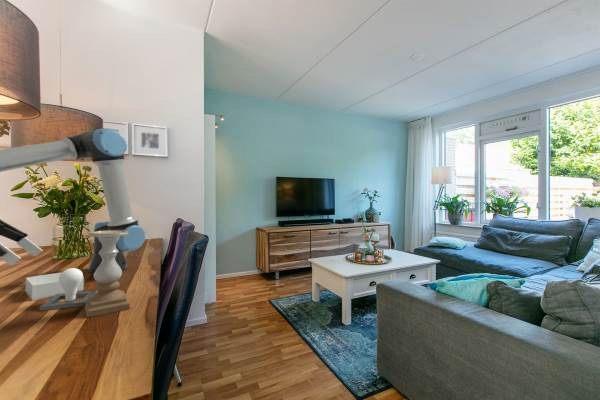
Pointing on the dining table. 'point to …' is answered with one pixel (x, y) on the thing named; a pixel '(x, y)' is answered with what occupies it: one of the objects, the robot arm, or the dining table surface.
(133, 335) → the dining table surface
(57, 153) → the robot arm
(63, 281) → the lightbulb
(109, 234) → the candle holder
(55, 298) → the dark grey square frame
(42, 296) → the bin
